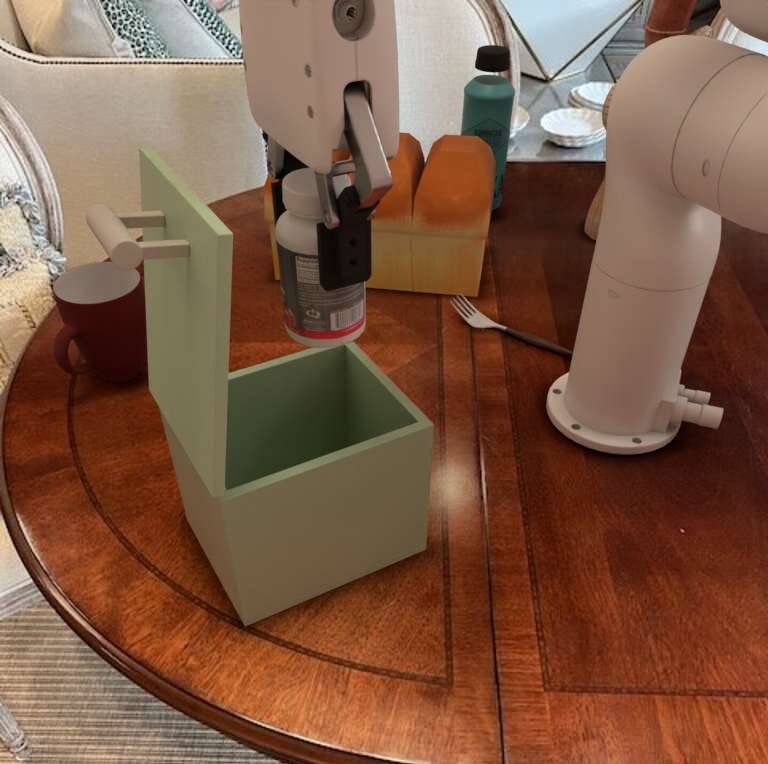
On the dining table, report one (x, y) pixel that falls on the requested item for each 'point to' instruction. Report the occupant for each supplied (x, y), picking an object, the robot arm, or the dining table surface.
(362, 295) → the pill bottle
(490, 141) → the beverage bottle
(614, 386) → the robot arm
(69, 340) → the mug
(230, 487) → the caddy
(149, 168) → the lid
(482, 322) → the fork
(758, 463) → the dining table surface
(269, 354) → the dining table surface
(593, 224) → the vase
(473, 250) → the bread
